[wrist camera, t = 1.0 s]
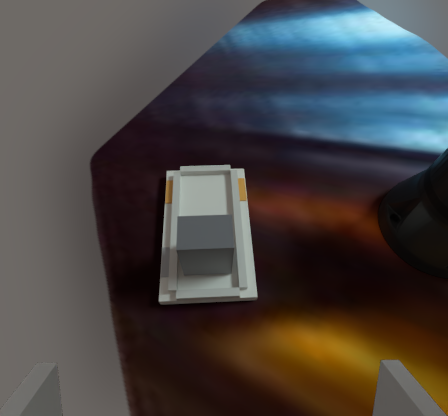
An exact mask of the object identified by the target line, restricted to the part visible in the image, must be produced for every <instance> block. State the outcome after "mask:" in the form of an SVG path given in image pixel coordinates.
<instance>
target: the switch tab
mask: <svg viewBox="0 0 448 416" xmlns="http://www.w3.org/2000/svg"><path fill="white" fill-rule="evenodd" d="M176 251H177V254H178V258H179V261H180V264H181V267H182V271H183V274H184V276H186V275H210V274H232V265H233V256H234V236H233V222H232V214H230V215H201V216H177V243H176Z"/></svg>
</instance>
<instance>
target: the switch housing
mask: <svg viewBox="0 0 448 416" xmlns="http://www.w3.org/2000/svg"><path fill="white" fill-rule="evenodd" d="M230 214H232V222H233V236H234V256H233V265H232V274H210V275H186V276H184V274H183V271H182V267H181V264H180V261H179V258H178V254H177V251H176V243H177V216H201V215H230ZM256 299H257V288H256V278H255V269H254V259H253V250H252V241H251V231H250V222H249V212H248V203H247V193H246V184H245V174H244V169H230V165H213V166H180V171H167V178H166V194H165V210H164V226H163V242H162V258H161V274H160V290H159V303H160V304H161V305H163V304H185V303H206V302H228V301H250V300H256Z"/></svg>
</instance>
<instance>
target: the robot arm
mask: <svg viewBox="0 0 448 416" xmlns="http://www.w3.org/2000/svg"><path fill="white" fill-rule="evenodd" d="M378 220H379V226H380V229H381V232H382V234H383V236H384V238H385V240H386V241H387V243H388V244H389V246H390V247H391V248H392V249H393V250H394V251H395V253H396V254H397V255H398V256H400V257H401V258H402V259H403V260H404V261H406V262H407V263H408V264H410V265H411V266H413V267H415V268H416V269H418V270H420V271H422V272H425V273H427V274H430V275H433V276H437V277H442V278H448V148H447V149H446V150H445V151H444V152H443V153H442V154H441V155H440V156H439V158H438V159H437V160H436V161H435V162H434V163H433V164H432V165H431V166H430V167H429V168H428V169H427V170H424V171H422V172H420V173H418V174H416V175H414V176H412V177H410V178H408V179H406V180H404V181H402V182H400V183H398V184H397V185H396V186H394V187H393V188H392V189H391V190H390V191H389V193H388V194H387V195H386V196H385V197H384V199H383V200H382V202H381V204H380V207H379V211H378ZM0 416H63V414H62V404H61V395H60V386H59V376H58V367H57V363H37V364H36V365H35V366H34V368H33V369H32V370H31V371H30V372H29V374H28V375H27V376H26V378H25V379H24V380H23V381H22V383H21V384H20V385H19V386H18V388H17V389H16V390H15V391H14V393H13V394H12V395H11V396H10V398H9V399H8V400H7V401H6V403H5V404H4V405H3V406H2V408H1V409H0ZM372 416H447V415H446V414H445V413H444V412H443V411H442V409H441V408H440V407H439V406H438V405H437V404H436V402H435V401H434V400H433V399H432V398H431V397H430V395H429V394H428V393H427V392H426V391H425V390H424V389H423V387H422V386H421V385H420V384H419V383H418V382H417V380H416V379H415V378H414V377H413V376H412V375H411V373H410V372H409V371H408V370H407V369H406V368H405V366H404V365H403V364H402V363H401V362H400V361H399V360H381V362H380V369H379V376H378V382H377V389H376V395H375V402H374V409H373V415H372Z"/></svg>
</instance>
